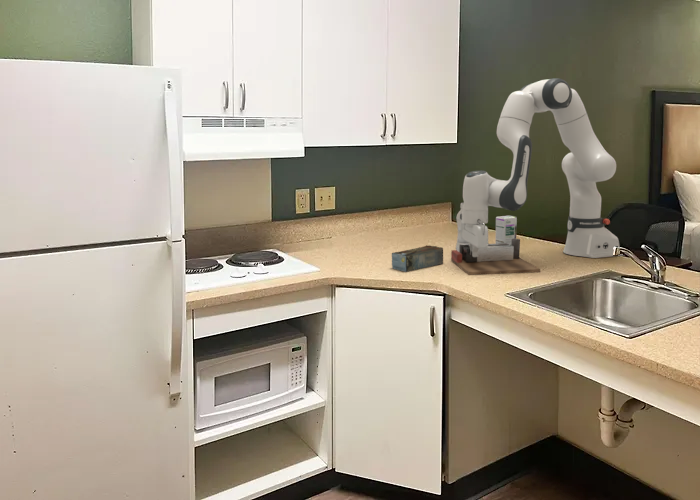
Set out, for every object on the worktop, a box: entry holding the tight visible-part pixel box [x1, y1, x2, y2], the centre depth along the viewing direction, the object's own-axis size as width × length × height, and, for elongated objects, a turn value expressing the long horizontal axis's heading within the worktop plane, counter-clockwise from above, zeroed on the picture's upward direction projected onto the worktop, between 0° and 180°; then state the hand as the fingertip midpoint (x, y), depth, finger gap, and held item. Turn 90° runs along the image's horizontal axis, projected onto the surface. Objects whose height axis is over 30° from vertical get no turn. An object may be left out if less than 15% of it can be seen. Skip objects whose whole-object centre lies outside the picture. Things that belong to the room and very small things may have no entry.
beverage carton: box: [391, 245, 444, 273], centre depth 224 cm, size 8×19×7 cm, turn 128°
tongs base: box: [450, 238, 541, 276], centre depth 222 cm, size 25×22×8 cm
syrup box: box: [494, 215, 518, 245], centre depth 242 cm, size 6×6×14 cm
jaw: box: [463, 245, 514, 263], centre depth 226 cm, size 18×3×5 cm, turn 99°
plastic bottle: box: [455, 202, 469, 252], centre depth 241 cm, size 6×7×20 cm
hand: (473, 256), depth 222 cm, fingers closed
